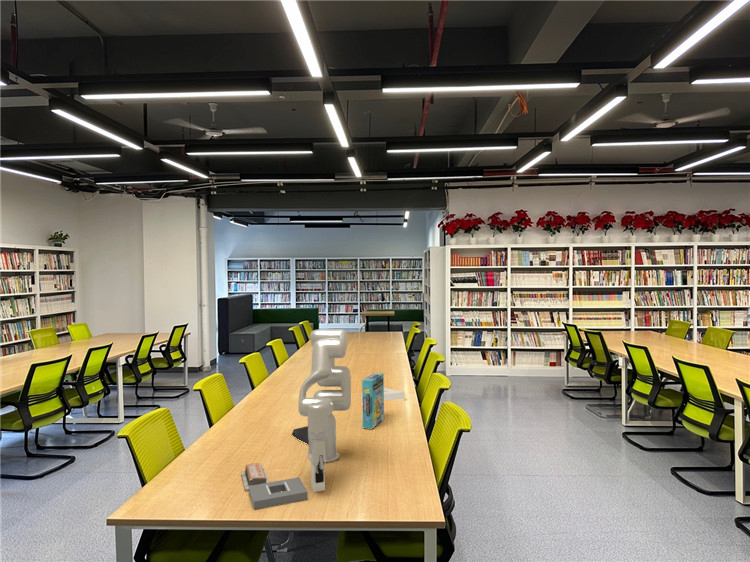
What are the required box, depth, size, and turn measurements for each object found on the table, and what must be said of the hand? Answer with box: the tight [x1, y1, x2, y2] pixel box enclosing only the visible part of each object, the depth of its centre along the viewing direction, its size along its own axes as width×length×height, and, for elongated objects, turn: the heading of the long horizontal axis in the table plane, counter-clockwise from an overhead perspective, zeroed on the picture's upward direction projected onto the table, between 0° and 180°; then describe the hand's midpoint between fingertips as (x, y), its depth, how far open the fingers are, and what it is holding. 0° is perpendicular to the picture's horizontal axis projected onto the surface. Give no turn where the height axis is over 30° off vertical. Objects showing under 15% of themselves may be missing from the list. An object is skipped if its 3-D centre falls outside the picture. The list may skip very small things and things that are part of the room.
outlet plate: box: [248, 476, 309, 511], centre depth 185 cm, size 14×20×3 cm
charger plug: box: [310, 462, 326, 493], centre depth 191 cm, size 4×4×13 cm
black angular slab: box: [291, 425, 309, 445], centre depth 250 cm, size 13×19×4 cm
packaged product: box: [240, 462, 270, 492], centre depth 199 cm, size 18×5×10 cm
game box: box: [361, 372, 385, 429], centre depth 272 cm, size 20×6×27 cm, turn 161°
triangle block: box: [360, 387, 405, 403], centre depth 321 cm, size 30×26×6 cm
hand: (317, 479), depth 191 cm, fingers closed on charger plug, 4 cm apart
